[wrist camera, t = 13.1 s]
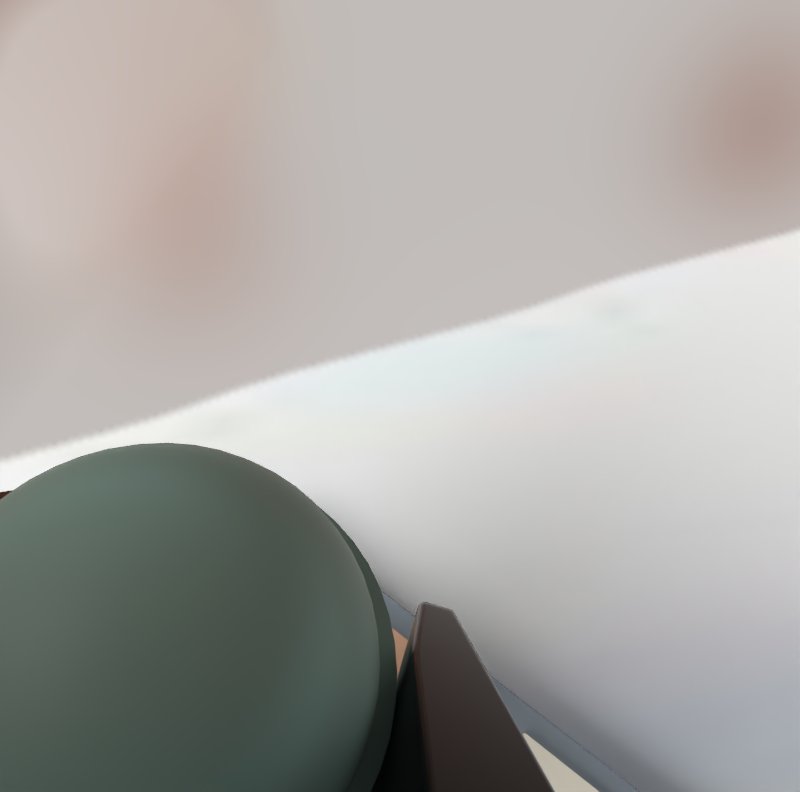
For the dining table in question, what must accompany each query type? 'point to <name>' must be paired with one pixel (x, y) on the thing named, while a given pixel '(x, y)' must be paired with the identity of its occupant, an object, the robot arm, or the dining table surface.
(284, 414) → the dining table surface
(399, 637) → the game board
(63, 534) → the game pawn
